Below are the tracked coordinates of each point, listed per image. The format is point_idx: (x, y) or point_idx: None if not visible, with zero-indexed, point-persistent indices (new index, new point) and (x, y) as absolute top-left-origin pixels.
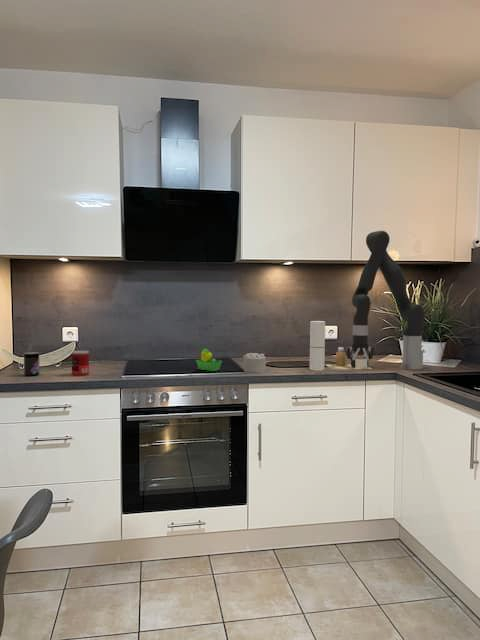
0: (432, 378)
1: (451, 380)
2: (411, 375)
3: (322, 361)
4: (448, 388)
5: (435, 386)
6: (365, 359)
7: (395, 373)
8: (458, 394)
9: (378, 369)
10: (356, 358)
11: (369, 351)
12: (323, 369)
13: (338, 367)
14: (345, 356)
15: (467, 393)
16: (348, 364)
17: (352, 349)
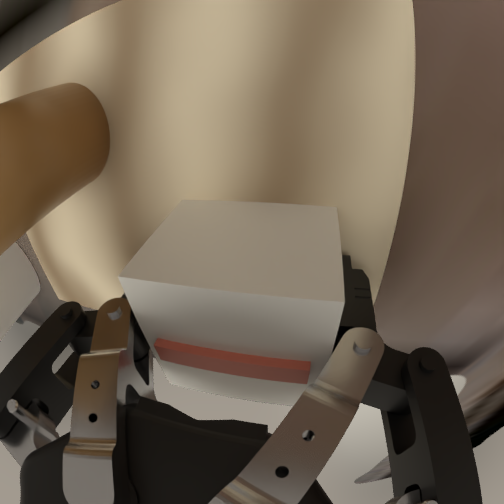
0: (475, 423)
1: (485, 431)
2: (473, 398)
3: (4, 335)
4: (385, 469)
5: (376, 466)
6: (290, 404)
7: (460, 368)
8: (357, 480)
9: (497, 214)
10: (174, 358)
11: (426, 475)
12: (29, 301)
13: (64, 236)
14: (16, 219)
15: (379, 478)
16: (170, 3)
17: (55, 444)
